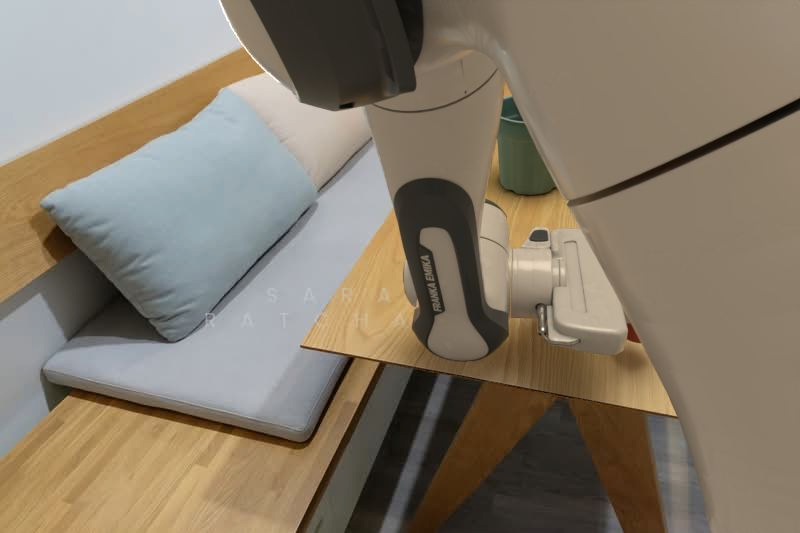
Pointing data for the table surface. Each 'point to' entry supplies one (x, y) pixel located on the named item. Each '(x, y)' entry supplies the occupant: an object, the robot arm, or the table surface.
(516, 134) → the flower pot
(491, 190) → the table surface
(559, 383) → the table surface
